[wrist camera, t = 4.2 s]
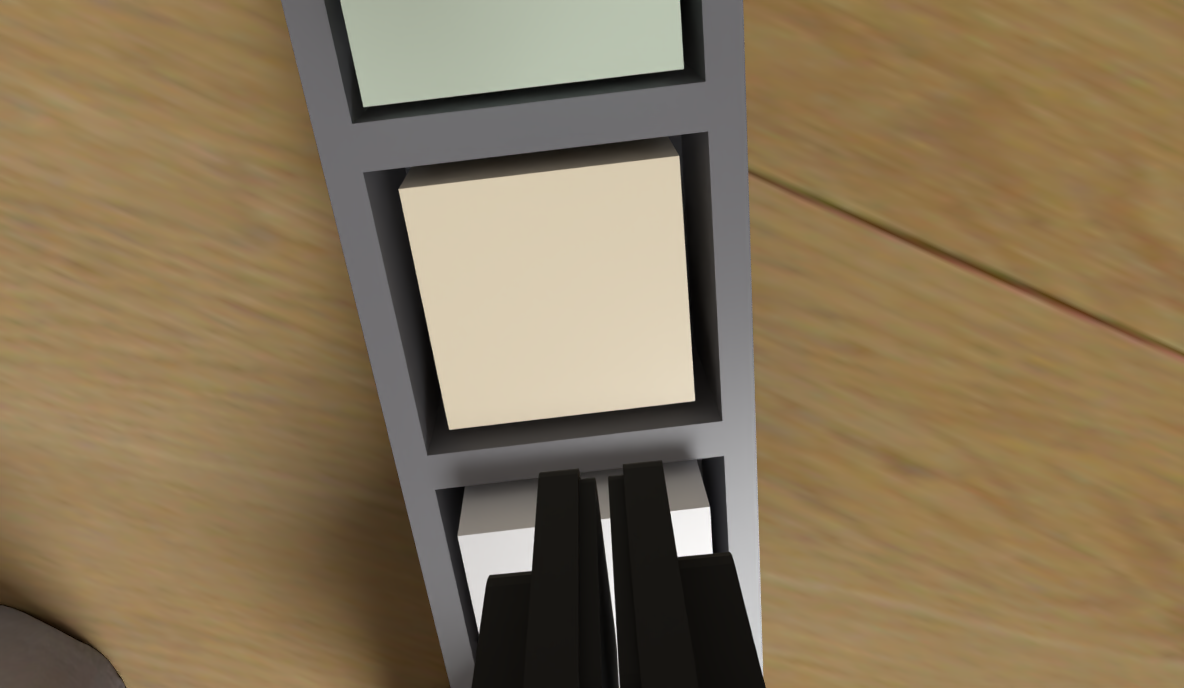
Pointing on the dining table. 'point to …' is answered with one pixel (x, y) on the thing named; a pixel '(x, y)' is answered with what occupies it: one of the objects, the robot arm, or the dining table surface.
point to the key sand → (553, 280)
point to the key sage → (504, 44)
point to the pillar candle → (48, 657)
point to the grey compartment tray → (396, 315)
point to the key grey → (507, 523)
